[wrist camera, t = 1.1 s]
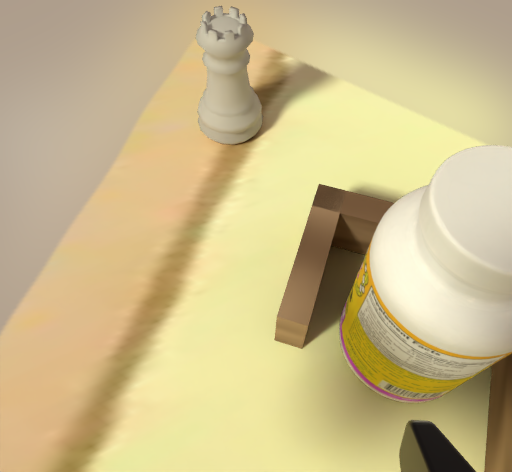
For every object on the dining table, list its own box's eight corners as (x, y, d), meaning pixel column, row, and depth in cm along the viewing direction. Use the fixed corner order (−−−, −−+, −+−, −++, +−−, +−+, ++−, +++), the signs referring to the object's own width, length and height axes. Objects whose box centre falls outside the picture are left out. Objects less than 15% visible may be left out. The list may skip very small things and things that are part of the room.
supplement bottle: (402, 262, 27) (503, 90, 16) (490, 356, 24) (686, 228, 13) (310, 324, 25) (352, 179, 14) (394, 434, 22) (529, 362, 11)
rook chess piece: (234, 159, 31) (227, 58, 24) (185, 127, 32) (165, 23, 26) (276, 120, 33) (281, 16, 26) (227, 91, 34) (220, -15, 27)
